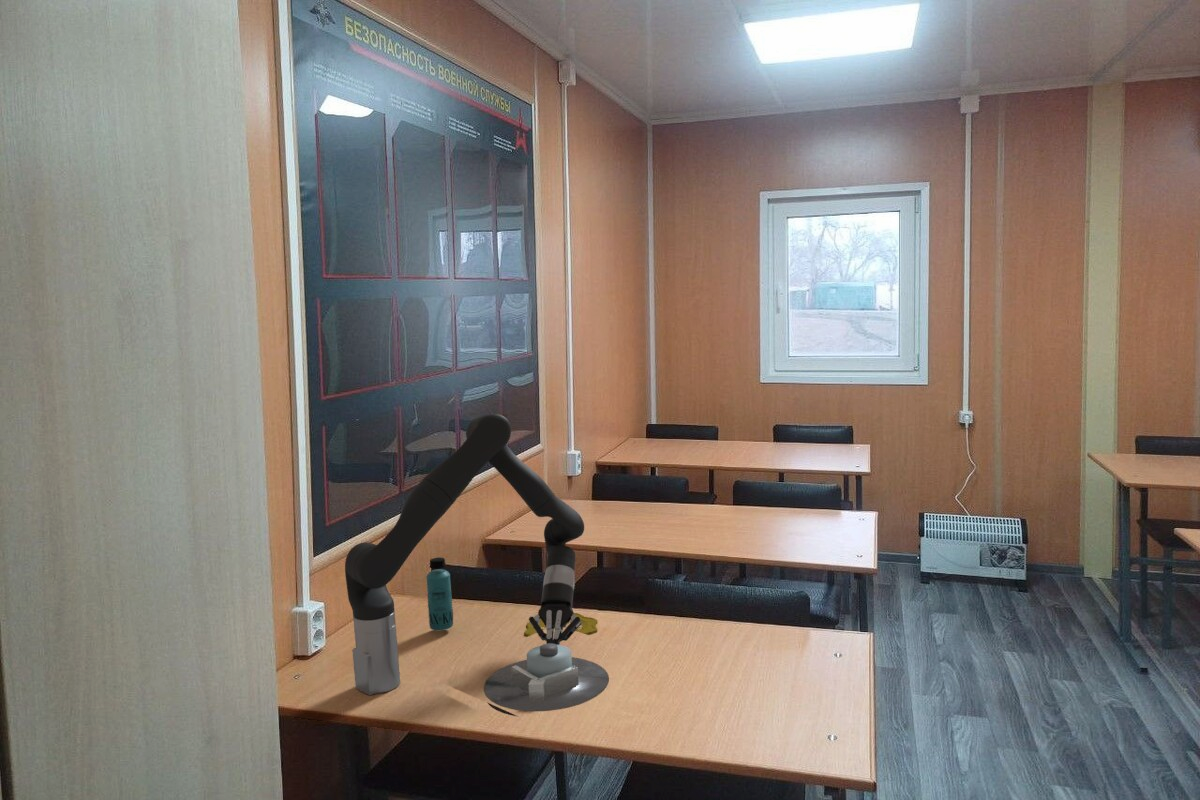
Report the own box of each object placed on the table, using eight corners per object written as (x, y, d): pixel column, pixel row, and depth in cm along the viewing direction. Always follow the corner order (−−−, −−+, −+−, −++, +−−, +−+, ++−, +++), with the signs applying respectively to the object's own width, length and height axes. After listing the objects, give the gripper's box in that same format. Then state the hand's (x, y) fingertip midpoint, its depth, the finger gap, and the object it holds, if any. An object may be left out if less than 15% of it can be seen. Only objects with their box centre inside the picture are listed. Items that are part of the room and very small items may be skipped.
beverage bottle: (427, 630, 238) (421, 557, 236) (451, 625, 241) (445, 553, 238) (433, 638, 232) (427, 564, 230) (457, 632, 235) (452, 559, 232)
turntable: (502, 661, 214) (500, 639, 214) (616, 662, 210) (615, 640, 210) (468, 716, 187) (466, 691, 186) (599, 719, 183) (598, 693, 182)
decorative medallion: (598, 614, 244) (598, 609, 244) (597, 642, 225) (597, 636, 224) (527, 618, 244) (527, 612, 244) (520, 645, 225) (520, 640, 225)
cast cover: (550, 692, 193) (548, 659, 192) (519, 681, 199) (516, 649, 199) (581, 676, 200) (580, 644, 199) (550, 666, 207) (548, 635, 206)
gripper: (528, 581, 214) (520, 650, 203) (582, 580, 212) (577, 650, 201) (534, 594, 220) (526, 662, 209) (587, 594, 218) (582, 663, 207)
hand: (551, 656), depth 205 cm, fingers closed
